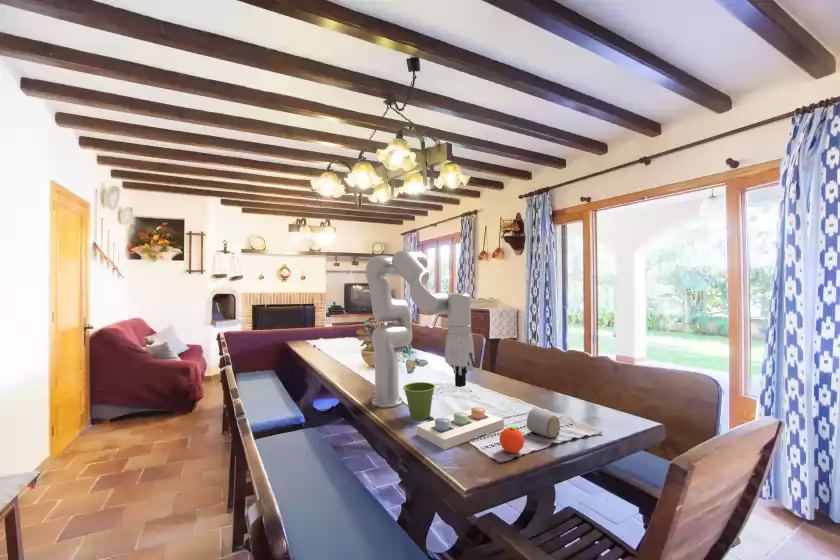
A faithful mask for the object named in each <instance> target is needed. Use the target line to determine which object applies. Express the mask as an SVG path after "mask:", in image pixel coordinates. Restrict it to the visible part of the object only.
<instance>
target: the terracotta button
mask: <svg viewBox="0 0 840 560" xmlns="http://www.w3.org/2000/svg"><path fill="white" fill-rule="evenodd" d="M470 409H471V418H472V419H475V420H477V421H480V420H483V419H485V412H486V409H485V408H484V407H481V406H476V407H475V406H474V407H472V408H470Z"/></svg>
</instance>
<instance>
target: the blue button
mask: <svg viewBox="0 0 840 560" xmlns="http://www.w3.org/2000/svg"><path fill="white" fill-rule="evenodd" d="M434 420H435V430H436V431H438V432H440V433H443V432H446V431H449V430H450V423H449V419H447V418H443V417H438V418H436V419H434Z"/></svg>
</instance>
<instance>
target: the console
mask: <svg viewBox="0 0 840 560" xmlns="http://www.w3.org/2000/svg"><path fill="white" fill-rule="evenodd" d="M471 409H472V408H470V409H466V410H464V411H462V412H464V413H467V414H468V425H465V426H462V427H460V426H457V425H455V424H454V414H455V413H453V414H450V415H447V416H443V417H442V418H447V419H449V423H450V430H449V431H446V432H443V433H440V432H438V431H436V430H435V419H433V420H430V421H427V422H424V423H420V424H417V425H416V435H417V436H418V437H421V438H423V439H424V440H426V441H428V442H429V443H432V444H434V446H437V447H439V448H440V449H442V450H448V449H450V448H454V447H457V446H458V445H462V444H464V443H467V442H469V441H468V440H470V439H472V438H475V437H478V436H481V435H484V434H486V435H488V434H487V433H489V434H491V432H492V433H493V432H497V431H500V430H502V429H503V430H504V429H505V425H504V424H505V423H504V422H505V421H504V418H502V417H499V416H497V415H494V414H491V413H487V412H486V411H485V419H483V420H480V421H477V420H475V419H472V418H471ZM484 436H485V435H484ZM481 437H482V436H481ZM478 438H479V437H478ZM475 439H476V438H475ZM470 441H471V440H470Z"/></svg>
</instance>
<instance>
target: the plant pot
mask: <svg viewBox="0 0 840 560" xmlns="http://www.w3.org/2000/svg"><path fill="white" fill-rule="evenodd" d="M435 388H436V384H434V383H430V382H424V381H423V382H422V381H417V382H411V383H407V384H405V385H403V386H402V389H403V390H404V393H405V396H406V401H407V402H406V403H407V406H408V411H409V417H410V418H411V419H412V420H417V421H424V420H427V419H428V418H430V416H431V412H432V411H431V410H432V403H433V402H432V401H433V395H434V390H435Z"/></svg>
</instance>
